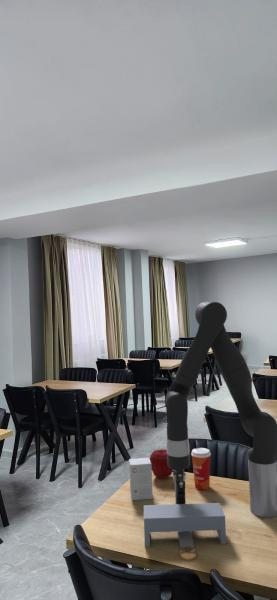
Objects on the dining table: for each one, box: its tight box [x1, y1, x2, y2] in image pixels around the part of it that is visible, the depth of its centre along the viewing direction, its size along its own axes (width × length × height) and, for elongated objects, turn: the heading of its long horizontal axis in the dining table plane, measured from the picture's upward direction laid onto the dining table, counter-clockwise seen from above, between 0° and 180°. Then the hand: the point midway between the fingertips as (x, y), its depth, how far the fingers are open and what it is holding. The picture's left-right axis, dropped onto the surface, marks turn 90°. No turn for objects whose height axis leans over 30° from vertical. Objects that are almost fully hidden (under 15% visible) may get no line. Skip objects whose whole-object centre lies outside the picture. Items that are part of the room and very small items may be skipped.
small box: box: [128, 457, 154, 501], centre depth 146 cm, size 8×6×13 cm
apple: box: [149, 448, 174, 480], centre depth 162 cm, size 11×11×12 cm
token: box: [179, 547, 197, 561], centre depth 109 cm, size 4×4×1 cm
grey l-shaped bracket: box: [174, 484, 195, 551], centre depth 120 cm, size 4×18×11 cm, turn 0°
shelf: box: [143, 502, 227, 547], centre depth 117 cm, size 24×8×8 cm, turn 90°
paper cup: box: [190, 447, 212, 491], centre depth 152 cm, size 8×8×14 cm
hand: (180, 504), depth 127 cm, fingers closed on grey l-shaped bracket, 3 cm apart
